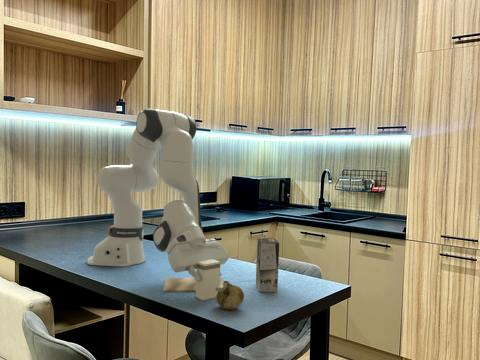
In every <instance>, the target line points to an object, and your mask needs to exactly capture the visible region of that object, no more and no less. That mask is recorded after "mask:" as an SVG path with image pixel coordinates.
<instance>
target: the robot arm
mask: <svg viewBox="0 0 480 360" xmlns="http://www.w3.org/2000/svg"><path fill="white" fill-rule="evenodd" d="M196 133H197V123H196V119H194V118H193V117H192V116H190V115H188V114H186V113H185V114H184V113H183V114H182V113H179V112H177V111H172V110H163V109H155V108H145V109H142V110H141V111H140V112H139V114H138V115H137V117H136V123H135V129H134V130H133V133H132V135H131V138H130V140H129V143H128V144H127V146H126V149H125V150H126V156H127V157H128V160H130V161H131V163H130V164H112V165H108V166H103V167H102V168H101V169H100V170H99V171H98V173H97V177H96V179H97V180H96V181H97V185H98V188H100V190H101V191H102V192H104V193H105V194H106V196H108V198H109V199H110V201H111V204H112V207H113V225H110V226H109V228H108V236H106V237H105V238H103V240H101V241H100V242H99V243H98V244H97V245H95V248H94V249H93V254H92V255H91V256H90V257H88V258H87V261H86V263H87V265H89V266H103V267H104V266H105V267H107V266H108V267H124V268H125V267H129V266H133V265H138V264H142V263H144V262H146V257H145V252H144V246H143V240H144V226H143V208H142V205H140V203H138V202H136V201H134V200H133V197H132V193H142V192H148V191H151V190H154V189H155V188H156V187H157V186H158V183H159V179H160V178H161V180H162V182H163V183H164V184H165V185H166V186H167V187H169V188H170V189H173V190H174V191H176V192H178V193H179V194H180V195H181V196H182V197H183V200H179V199H178V200H177V199H176V200H172V201H170V202H168V203H166V204H165V205H164V206H163V217H162V219H161V221H160V223H159V224H158V225H157V227H156V228H155V230H154V231H153V232H152V240H153V244H154V245H155V248H156V249H157V250H158V251H159V252H160V253H163V252H164V253H166V254H167V255H168V257H167V258H168V263H169V264H170V267H171V270H172V271H173V272H175V273H181V272H187V273H188V274H189V275H190V276H192V278H195V280H196V282H198V281H201V280H202V276H201V274H198V273H197V264H198V263H197V262H199V261H205V260H211V259H214V260H217V261H220V266H221V265H224V264H226V263H227V262H228V260H229V256H230V255H229V254H228V252H227V250H226V249H225V247H224V246H223V245H222V244H221V242H220V241H219V240H217V239H215V238H211V239H207V238H206V237H205V234H204V231H203V226H202V216H201V215H202V214H201V213H202V212H201V197H200V195H201V194H200V186H199V183H198V180H197V179H196V178H195V176H194V170H193V163H194V145H193V144H194V143H193V139H194V138H195V136H196V135H197V134H196ZM160 147H161V152H160V159H159V174H158V172H157V170H156V168H155V167H154V161H155V159H156V156H157V154H158V151H159V150H160ZM159 177H160V178H159ZM221 276H222V272H221V271H220V277H221Z"/></svg>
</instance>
